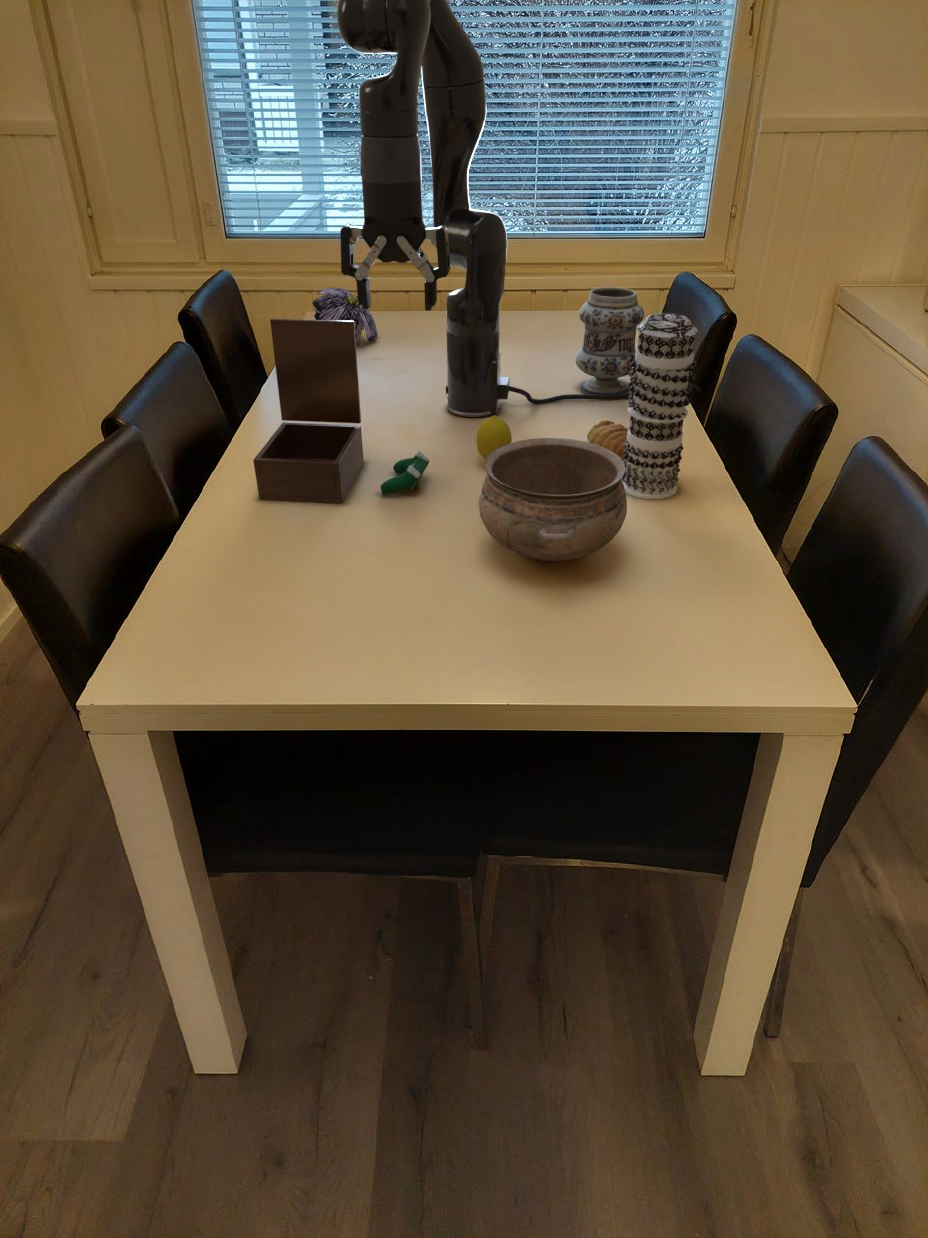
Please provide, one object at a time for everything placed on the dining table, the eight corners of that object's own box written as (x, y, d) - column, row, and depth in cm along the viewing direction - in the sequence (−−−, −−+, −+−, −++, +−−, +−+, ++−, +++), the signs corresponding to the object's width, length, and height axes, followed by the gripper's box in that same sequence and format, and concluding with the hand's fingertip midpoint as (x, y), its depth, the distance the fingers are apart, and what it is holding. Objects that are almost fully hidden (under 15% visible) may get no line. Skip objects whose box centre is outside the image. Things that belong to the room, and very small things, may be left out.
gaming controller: (394, 508, 131) (421, 484, 128) (376, 490, 130) (403, 466, 127) (410, 482, 139) (435, 459, 136) (392, 464, 138) (418, 441, 135)
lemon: (515, 459, 141) (516, 411, 137) (505, 473, 137) (506, 424, 133) (482, 455, 143) (482, 407, 138) (471, 468, 139) (471, 419, 134)
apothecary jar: (635, 379, 173) (644, 283, 163) (639, 400, 163) (649, 300, 153) (573, 377, 174) (579, 282, 164) (573, 398, 164) (580, 299, 154)
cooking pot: (482, 506, 127) (482, 426, 121) (613, 509, 127) (621, 428, 120) (474, 599, 107) (474, 508, 100) (631, 603, 106) (642, 511, 99)
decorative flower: (348, 306, 182) (306, 273, 189) (330, 358, 188) (290, 324, 195) (397, 312, 193) (356, 281, 200) (379, 361, 199) (340, 329, 206)
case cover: (353, 321, 129) (360, 314, 132) (269, 319, 130) (279, 312, 134) (360, 423, 137) (366, 413, 141) (281, 420, 138) (290, 410, 142)
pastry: (648, 457, 142) (650, 434, 139) (613, 465, 139) (615, 442, 137) (615, 437, 149) (617, 415, 146) (581, 444, 146) (583, 422, 144)
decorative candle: (666, 505, 127) (690, 330, 113) (607, 491, 131) (623, 320, 117) (688, 482, 134) (713, 314, 120) (632, 469, 138) (649, 305, 124)
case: (342, 503, 129) (338, 463, 125) (259, 499, 130) (253, 459, 126) (363, 462, 141) (361, 425, 137) (287, 459, 142) (282, 422, 138)
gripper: (451, 172, 113) (453, 303, 122) (343, 171, 114) (352, 300, 123) (443, 180, 106) (445, 317, 116) (328, 179, 108) (339, 314, 117)
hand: (397, 308), depth 119 cm, fingers open, 8 cm apart
